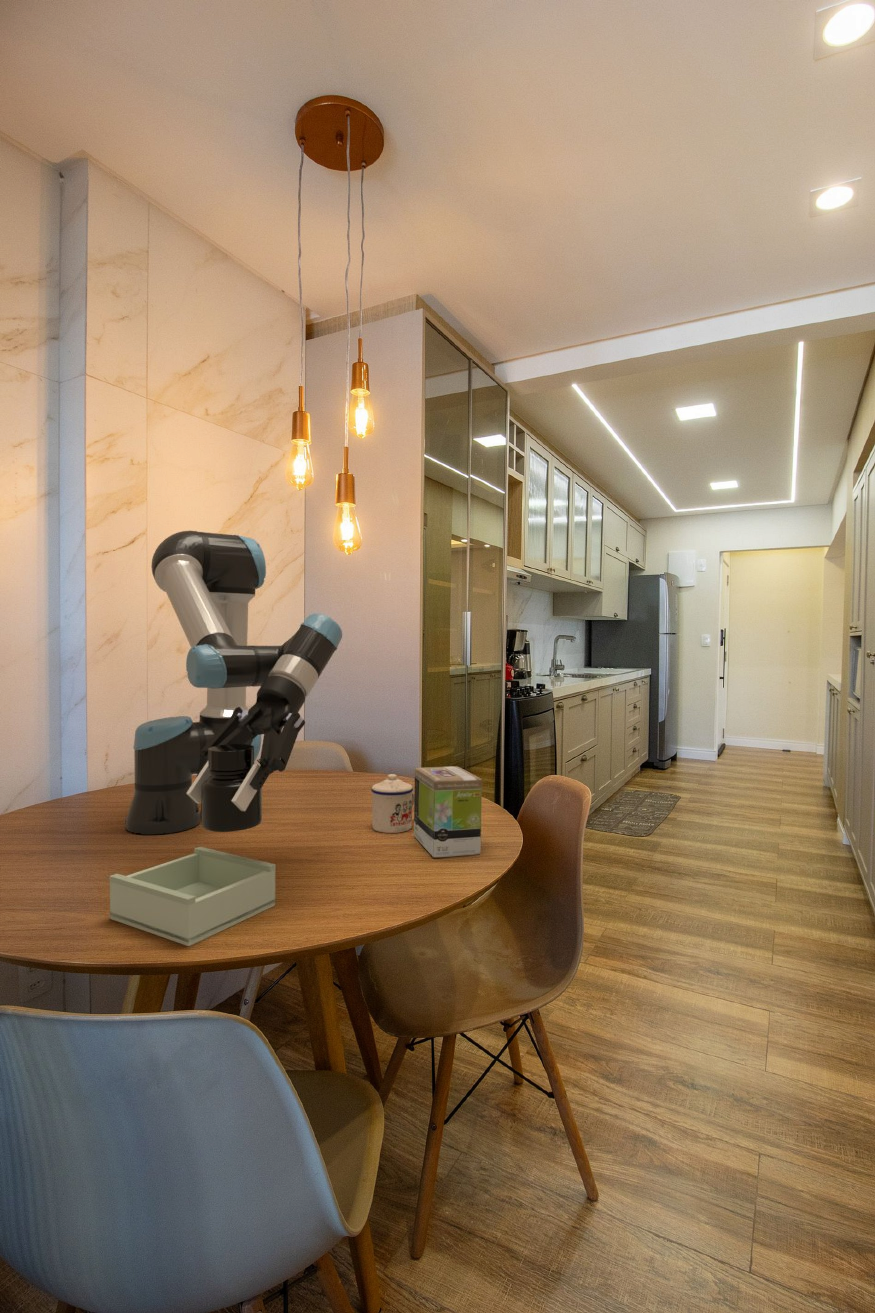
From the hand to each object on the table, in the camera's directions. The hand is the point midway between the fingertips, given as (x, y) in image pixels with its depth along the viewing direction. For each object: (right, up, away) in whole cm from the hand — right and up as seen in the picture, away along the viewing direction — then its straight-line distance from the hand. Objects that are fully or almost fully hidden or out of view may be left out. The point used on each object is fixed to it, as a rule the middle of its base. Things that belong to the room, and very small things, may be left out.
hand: (215, 802), depth 99 cm
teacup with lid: (+24, -16, +47) cm, 55 cm away
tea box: (+35, -16, +33) cm, 51 cm away
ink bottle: (+2, -4, +3) cm, 6 cm away
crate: (-3, -16, 0) cm, 17 cm away
